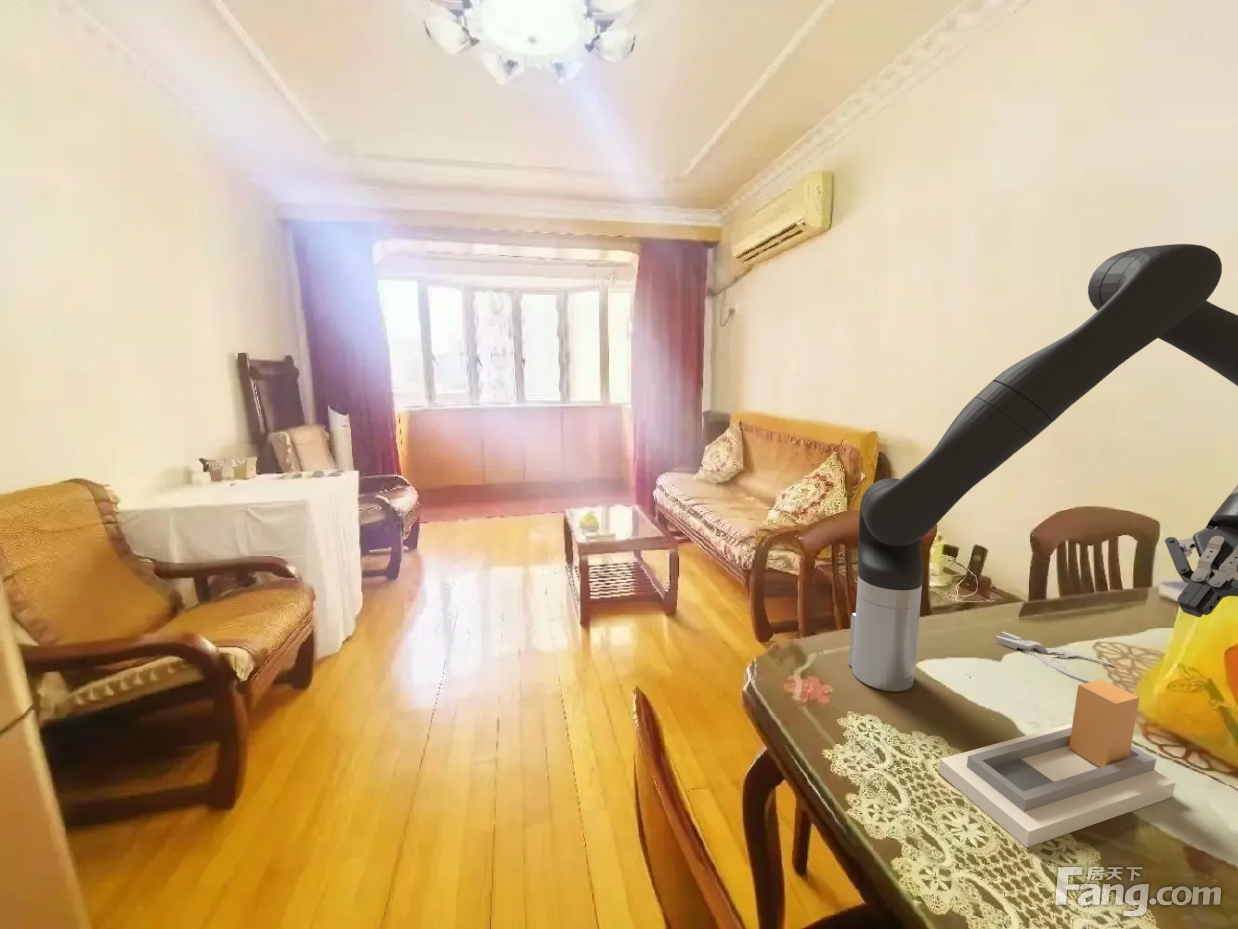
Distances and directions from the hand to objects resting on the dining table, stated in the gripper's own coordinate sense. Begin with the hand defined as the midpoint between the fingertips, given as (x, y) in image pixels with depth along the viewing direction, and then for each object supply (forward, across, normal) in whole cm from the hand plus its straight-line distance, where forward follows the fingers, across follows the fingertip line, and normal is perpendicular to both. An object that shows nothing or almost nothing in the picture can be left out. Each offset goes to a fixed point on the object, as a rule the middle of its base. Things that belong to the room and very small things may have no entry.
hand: (1189, 611), depth 66 cm
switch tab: (+21, 0, +3) cm, 22 cm away
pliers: (+8, -21, +21) cm, 31 cm away
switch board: (+28, 0, 0) cm, 28 cm away
